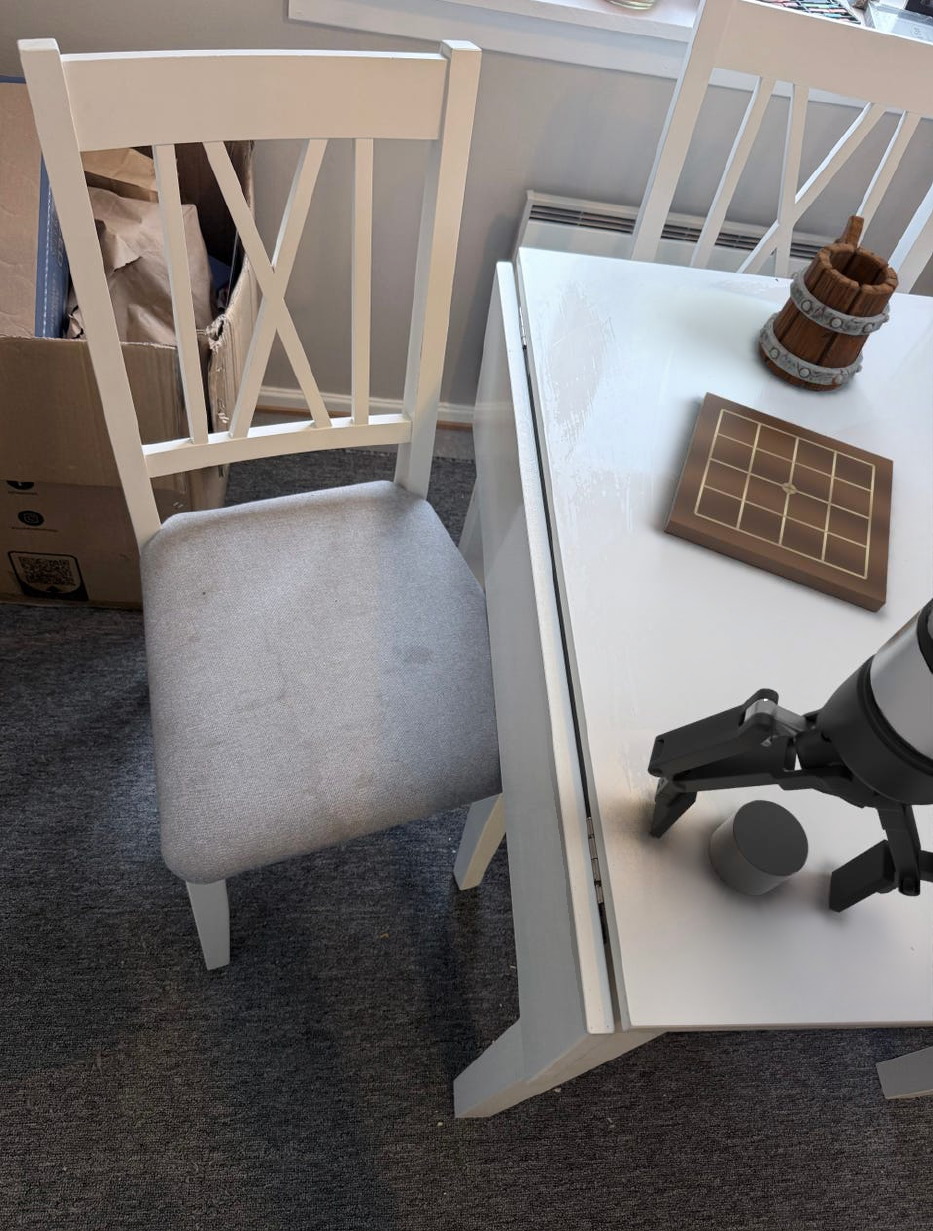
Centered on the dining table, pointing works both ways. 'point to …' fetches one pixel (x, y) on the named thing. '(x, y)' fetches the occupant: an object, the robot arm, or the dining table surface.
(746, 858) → the dark grey puck
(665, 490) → the dining table surface
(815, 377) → the mug
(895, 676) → the robot arm
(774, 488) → the board
